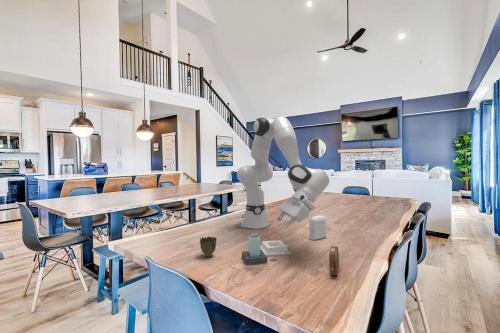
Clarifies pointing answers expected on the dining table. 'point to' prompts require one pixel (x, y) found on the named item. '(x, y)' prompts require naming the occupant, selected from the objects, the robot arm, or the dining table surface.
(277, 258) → the dining table surface
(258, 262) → the holster
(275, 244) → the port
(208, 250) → the cup
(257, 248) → the plug
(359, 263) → the dining table surface
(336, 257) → the tin
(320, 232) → the photo printer
